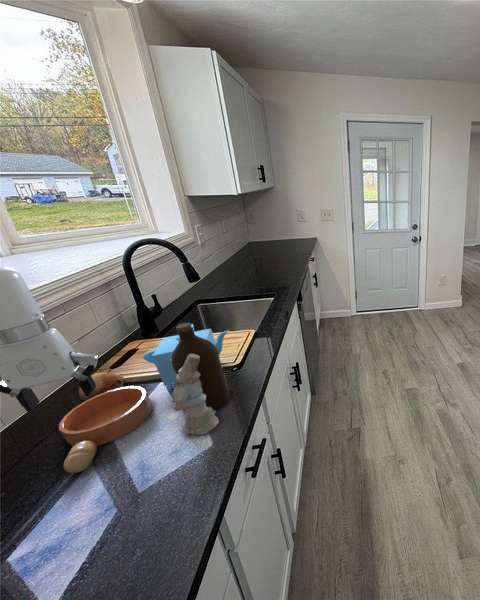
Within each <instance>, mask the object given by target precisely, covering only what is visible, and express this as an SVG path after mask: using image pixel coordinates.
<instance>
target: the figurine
mask: <svg viewBox="0 0 480 600" xmlns="http://www.w3.org/2000/svg"><path fill="white" fill-rule="evenodd" d="M199 360H200V356H198V355H196V354H189V355H188V356H187V359H186V361H185V363H184V365H183V367H182V368H181V369H180V370H179V371H178V373H179V374H177V377H176V381H177V382H178V383H183V384H179V385H177V386H176V385H175V388H174V389H173V391H172V393H171V399H170V402H171V403H172V404H173V407H172V409H173V410H174V411H176V412H179V411H181V412H182V415H183V416H185V423H184V426H183V430H182V432H184V433H185V434H186V435H198V436H199V435H203V434H206V433H208V432H211V431H212V430H214V429H215V428H216V427H217V426H218V424H219V421H220V420H219V418H218V417H217V416H216V415H215V414H216V413H217V411H216V410H212V408H211V407H207V406H206V403H205V401H206V395H205V394H204V393H202V392H203V389H202V388H201V381H200V380H199V379H198V378H199V377H200V373H199V372H198V371H197V368H198V364H199Z"/></svg>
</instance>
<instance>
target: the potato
mask: <svg viewBox="0 0 480 600" xmlns="http://www.w3.org/2000/svg"><path fill="white" fill-rule="evenodd" d="M97 451H98V446H97V445H96V444H95V443H94V442H92V441H82V442H79V443H78V444H76V445H75V446H73V447H71V449H70V451H69V452H68V454H67V456H66V457H65V460H64V461H63V469H64V471H65V472H67V473H69V474H77V473H81V472H83V471H85V470H86V469H87V468H89V467H90V466H91V464H92V462H93V461H94V458H95V455H96V453H97Z"/></svg>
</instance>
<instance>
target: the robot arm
mask: <svg viewBox="0 0 480 600" xmlns="http://www.w3.org/2000/svg"><path fill="white" fill-rule="evenodd" d="M98 359H99V356H98V355H97V354H91V353H82V352H75V350H74V349H73V347H72V345H71V344H70V343H69V341H68V340H67V339H66V338H65V336H63V335H62V334H61V333H60V332H59V330H57V329H56V328H52V327H51V326H50V324H49V322H48V321H47V319H46V317H45V315H44V313H43V311H42V310H41V308H40V306H39V304H38V303H37V300H36V299H35V297H34V295H33V294H32V292H31V290H30V288H29V287H28V286H27V283H26V281H25V280H24V277H23V275H22V274H21V273H20V272H19V271H18V270H16V269H14V268H12V267H0V393H1V394H6V395H9V397H11V398H15V399H16V400H17V401H18V404H19V405H20V406H21V407H22V408H23V409H24V410H25V411H26V412H27V413H28V412H32V411H33V410H34V409H35V408H36V407H37V406H38V405H39V404H40V400H39V398H38V397H37V395H36V393H35V392H34V391H33V389H32V388H33V387H37V386H40V385H41V386H42V385H44V384H45V385H46V384H49V383H53V382H54V383H55V382H59V381H62V380H65V379H68V378H70V377H71V378H74V379H76V380H79V381H78V382H77V383H78V385H79V388H80V387H81V389H82V391H83V392H84V394H85V396H91V394H92V393H93V392H94V390H95V388H96V384H95V382H94V380H93V378H92V377H91V376H92V374H93V371H94V370H95V369H96V367H97V365H98ZM81 362H83V363H87V364H86V365H87V366H86V367H85V366H83V365H82V364H81Z"/></svg>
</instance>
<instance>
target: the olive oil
mask: <svg viewBox="0 0 480 600" xmlns="http://www.w3.org/2000/svg"><path fill="white" fill-rule="evenodd" d="M191 324H192V323H191V322H182V323H179V324H177V326H175V327H176V331H177V335H179V337H180V342H179V343H178V345H177V346H176V348H175V349H174V351H173V353H172V356H171V363H172V366H173V368H174V370H175V372H176V374H179V373H178V371H179V370H180V369H181V368H182V367H183V365H184V363H185V361H186V359H187V356H188V355H189V354H196V355H198V356H200V360H199V364H198V368H197V371H198V372H199V373H200V377H199V378H198V379H199V380H200V381H201V388H202V389H203V392H202V393H204V394H205V395H206V401H205V403H206V406H207V407H211V408H212V410H215V411H216V410H218V409H220V408H221V407H223V406H224V405H225V404H226V403H227V402H228V401H229V400H230V397H231V395H230V394H231V393H230V391H229V387H228V384H227V381H226V378H225V377H226V376H225V374H224V370H223V367H222V362H221V359H220V357H219V355H218V351H217V349H216V347H215V346H214V344H213V343H212V342H210V341H208V340H206V339H204V338H201V337H198V336H196V335H195V334H194V331H195V329H194V330H193V328H192V327H191ZM181 384H183V383H181Z"/></svg>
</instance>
